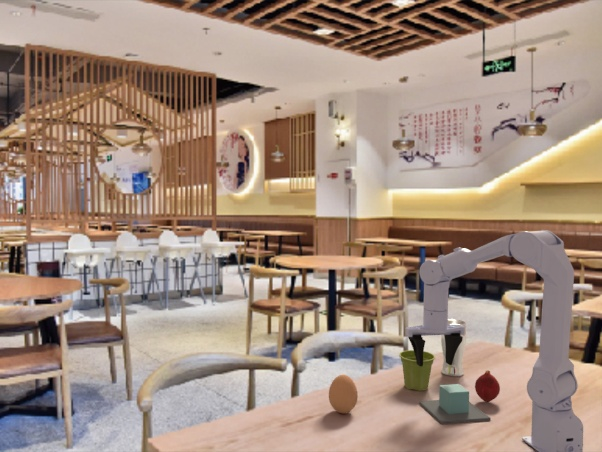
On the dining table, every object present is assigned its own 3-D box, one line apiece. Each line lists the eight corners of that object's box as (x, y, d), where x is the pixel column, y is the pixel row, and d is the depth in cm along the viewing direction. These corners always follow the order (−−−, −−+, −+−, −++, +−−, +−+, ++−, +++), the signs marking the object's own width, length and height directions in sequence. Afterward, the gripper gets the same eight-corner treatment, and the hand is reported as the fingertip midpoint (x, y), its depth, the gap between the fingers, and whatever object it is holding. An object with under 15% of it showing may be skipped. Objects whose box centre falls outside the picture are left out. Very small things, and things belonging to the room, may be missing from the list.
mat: (490, 420, 119) (490, 417, 119) (441, 424, 117) (441, 421, 117) (464, 400, 131) (464, 398, 131) (419, 403, 129) (419, 401, 129)
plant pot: (442, 390, 138) (442, 357, 138) (413, 395, 134) (413, 362, 133) (419, 379, 146) (420, 348, 146) (391, 384, 142) (392, 352, 142)
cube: (468, 412, 122) (469, 391, 122) (448, 414, 121) (449, 392, 121) (458, 404, 127) (458, 383, 127) (439, 405, 126) (439, 385, 126)
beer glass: (435, 370, 153) (436, 320, 153) (453, 367, 156) (454, 318, 156) (451, 378, 147) (452, 325, 146) (470, 375, 150) (471, 323, 149)
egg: (323, 409, 125) (324, 372, 124) (349, 405, 127) (349, 369, 127) (335, 420, 118) (336, 381, 118) (362, 416, 121) (363, 378, 120)
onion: (501, 407, 126) (502, 375, 126) (476, 405, 128) (477, 373, 127) (497, 398, 132) (498, 367, 132) (473, 397, 133) (474, 366, 133)
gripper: (455, 304, 132) (454, 358, 133) (401, 306, 129) (400, 360, 130) (469, 310, 125) (468, 366, 126) (412, 312, 122) (411, 369, 123)
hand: (434, 364), depth 127 cm, fingers open, 7 cm apart
